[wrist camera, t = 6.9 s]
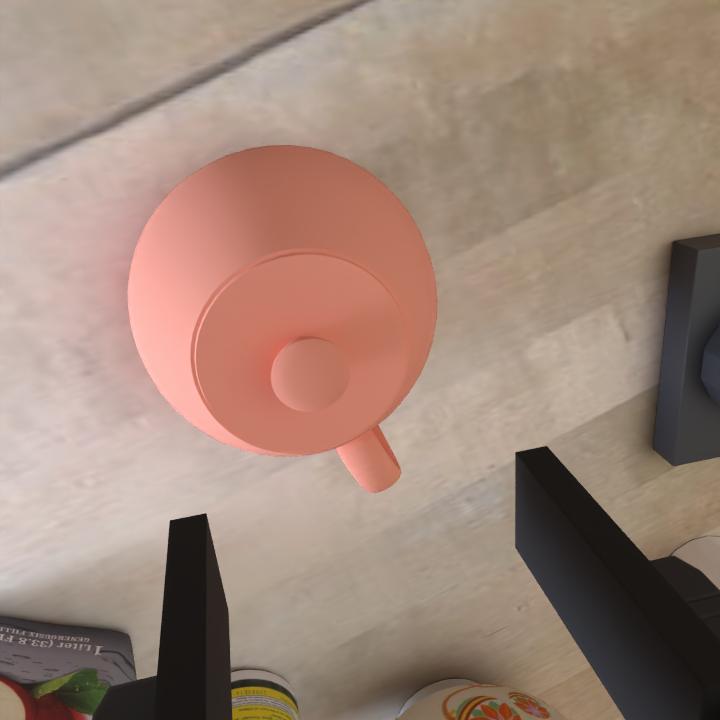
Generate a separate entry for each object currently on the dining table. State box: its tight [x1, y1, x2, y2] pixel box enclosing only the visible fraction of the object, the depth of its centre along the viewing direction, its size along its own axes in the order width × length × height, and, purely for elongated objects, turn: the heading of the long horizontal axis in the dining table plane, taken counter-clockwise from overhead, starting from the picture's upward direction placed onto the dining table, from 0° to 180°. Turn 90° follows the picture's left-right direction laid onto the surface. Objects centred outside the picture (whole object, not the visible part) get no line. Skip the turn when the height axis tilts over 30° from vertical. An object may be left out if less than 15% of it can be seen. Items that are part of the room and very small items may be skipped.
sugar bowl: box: [128, 145, 437, 493], centre depth 26 cm, size 12×14×10 cm
